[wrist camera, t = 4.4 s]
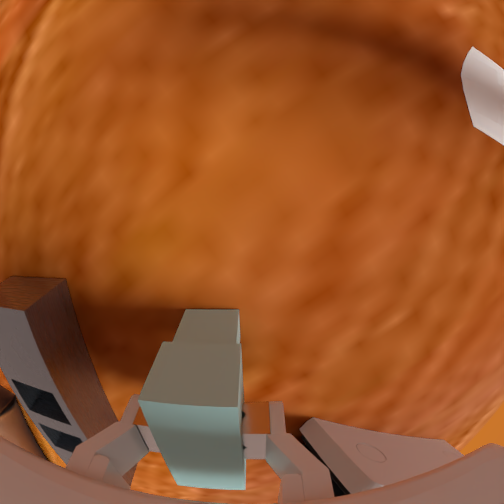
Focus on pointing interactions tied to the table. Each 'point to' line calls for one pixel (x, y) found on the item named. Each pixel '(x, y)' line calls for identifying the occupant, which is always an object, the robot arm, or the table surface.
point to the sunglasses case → (16, 424)
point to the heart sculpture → (484, 93)
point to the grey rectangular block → (51, 364)
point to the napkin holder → (371, 455)
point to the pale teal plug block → (199, 401)
